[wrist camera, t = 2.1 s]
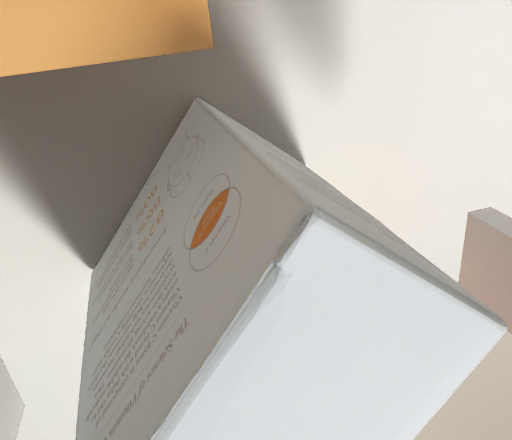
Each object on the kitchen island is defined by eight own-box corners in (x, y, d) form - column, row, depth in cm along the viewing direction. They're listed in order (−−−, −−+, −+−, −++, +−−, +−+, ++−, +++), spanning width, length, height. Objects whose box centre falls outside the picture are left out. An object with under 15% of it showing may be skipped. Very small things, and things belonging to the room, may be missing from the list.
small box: (208, 317, 19) (291, 590, 10) (87, 271, 17) (52, 579, 8) (312, 166, 18) (524, 330, 9) (195, 90, 15) (317, 206, 6)
